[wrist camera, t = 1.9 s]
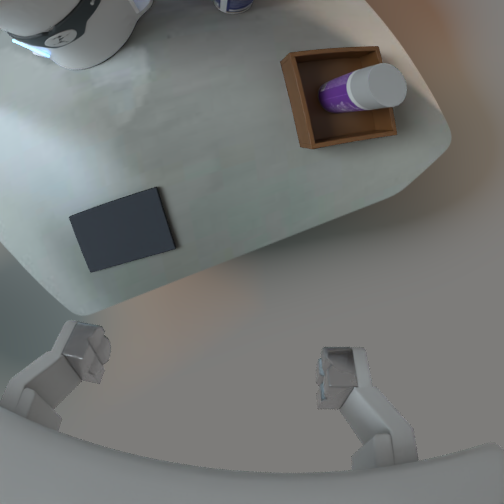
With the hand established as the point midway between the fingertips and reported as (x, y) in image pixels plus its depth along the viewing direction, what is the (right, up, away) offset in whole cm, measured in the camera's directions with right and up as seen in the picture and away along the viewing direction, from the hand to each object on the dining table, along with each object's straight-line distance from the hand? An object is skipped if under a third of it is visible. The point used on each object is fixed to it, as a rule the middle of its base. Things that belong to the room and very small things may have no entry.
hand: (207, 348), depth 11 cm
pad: (-17, +6, +32) cm, 36 cm away
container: (+13, +24, +28) cm, 39 cm away
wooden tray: (+13, +25, +28) cm, 39 cm away
